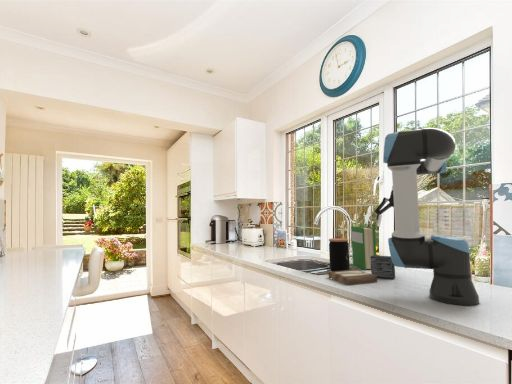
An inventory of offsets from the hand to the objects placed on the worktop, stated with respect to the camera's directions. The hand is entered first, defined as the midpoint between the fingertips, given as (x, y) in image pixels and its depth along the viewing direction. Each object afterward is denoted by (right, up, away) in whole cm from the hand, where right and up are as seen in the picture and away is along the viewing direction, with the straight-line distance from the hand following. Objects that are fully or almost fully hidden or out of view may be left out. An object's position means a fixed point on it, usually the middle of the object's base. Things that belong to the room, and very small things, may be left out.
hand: (390, 228), depth 149 cm
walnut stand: (-25, -23, -13) cm, 37 cm away
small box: (-8, -24, -8) cm, 26 cm away
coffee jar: (-25, -25, +7) cm, 36 cm away
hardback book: (-7, -26, +18) cm, 32 cm away
